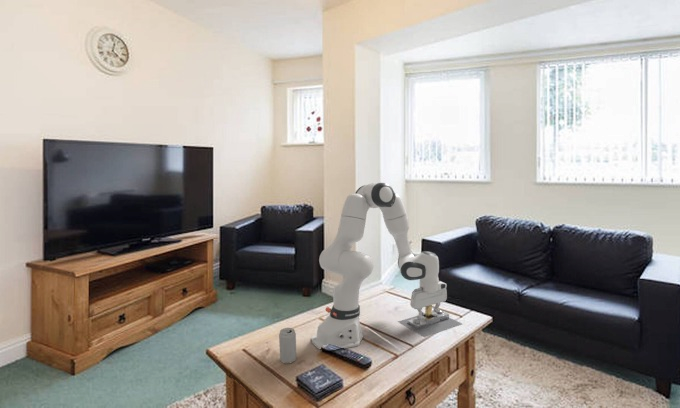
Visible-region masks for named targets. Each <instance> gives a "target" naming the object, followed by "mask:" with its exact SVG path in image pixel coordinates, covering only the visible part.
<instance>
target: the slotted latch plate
mask: <svg viewBox="0 0 680 408" xmlns="http://www.w3.org/2000/svg"><path fill="white" fill-rule="evenodd" d="M423 313H424V314H423V315H424V316H419V314H417V315H416V316H417V318H414V319H411V320H408V323H409V324H410V325H412V326H414V327H416V328H417V329H418V328H421V327H424V326H428V325H431V324H434V323H437V322H440V321H443V320H446V319H449V318H450V313H448V312H446V311H444V310H442V309H439V308H438V312H434V311H433V310H432V318H429V319H428V318H426V317H425V312H423Z"/></svg>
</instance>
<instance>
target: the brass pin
mask: <svg viewBox="0 0 680 408" xmlns="http://www.w3.org/2000/svg"><path fill="white" fill-rule="evenodd" d="M424 308H425V309H424V310H425V312H424V313H425V317H426V318H428V319H429V318H432V311H433V310H432V309H433V305H430V306H427V307H424Z"/></svg>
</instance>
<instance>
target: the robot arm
mask: <svg viewBox="0 0 680 408" xmlns="http://www.w3.org/2000/svg"><path fill="white" fill-rule="evenodd" d="M370 208H372V209H376V208H378V209H380V211H381V213H382V214H381V215H382V217H383V221H384V223H385V226H386V229H387V231H388V233H389V234H390V235H391V236H392V237H393V239H394V242H395V245H396V248H397V251H398V259H397V267H398V268H399V270H400V274H401V276H402V277H403V278H404V279H405V280H407V281H417V280H419V286H418V288H415V289H413V290H412V292H411V297H410V302H409V303H410V307H411V308H412V309H414V310H417V312H418V315H419V316H424V315H423V314H424V313H425V312H423V311H422V310H423V308H425V307H427V306H430V305H432V306H434V307H432V309H433V310H432V311H434V312H438V309H439V308H440V306H441V303H444V302H446V300H447V299H448V292H447V291H448V290H447V286H448V285H447V283H445V282H443V281H441V280H439V279H440V278H439V273H440V261H439V257H438V255H437V254H436V253H435V252H432V251H427V250H425V251H421V252H420V253H419V254H417V255H415V254H414V253H413V251H412V249H411V245H410V241H409V238H408V237H409V236H408V232H409V229H410V221H409V215H408V212H407V209H406V206H405V204H404V201H403V199H402V198H401V195H400V194H398V193H397V192H396V193H395V191H394V190H393V188H392V186H391V185H389V184H388V183H386V182H377V183H368V184H364V185H362V186H360V187H359V188H358V189H357V190H356V191H355V193H351V194H348V195H347V196H346V198H345V200H344V204H343V207H342V210H341V213H340V214H341V215H340V219H339V225H338V229H337V233H336V235H335V238H334V239H333V240H332V242H331V243H330V245H328V246H327V247H326V248H325V249H323V250H322V251H321V253H320V255H319V259H318V261H319V266H320V268H321V269H322V270H324V271H327V272H328V273H330V274H331V273H332V274H335V275H340V276H342V281H341V282H339V283H337V284H336V285H335V286H334V288H333V292H332V294H333V295H332V297H333V298H332V300H333V301H332V303H333V305H332V307H331V308H330V307H329V306H327V307H325V309H324V310H325V312H327V313H329V315H328V316H327V317H326V318H325V319H324V320H322V322H321V323H319V325H318V326H317V329H316V334H314V335H312V336H311V342H312V344H313V345H314V346H315V347H316V348H317V349H319V350H320V349H321V347H322V346H323V345H327V344H333V345H337V346H340V347H345V348H344V349H347V348H348V349H350V348H354V347H359V346H360V344H361V341H362V340H363V338H364V336H363V332H362V329H361V322H360V316H361V308H360V304H359V302H360V301H359V300H360V299H359V297H360V288H361V285H362V284H363V282H364V281H365V280H366V279H367V278H369V277H370V276H371V274H372V272H373V271H374V262H373V258H372V257H371V256H370V255H368V254H366V253H363V252H362V251H355V250H351V249H352V247H353V246H354V244H356V243H357V242H360V241H361V240H362V239H363V238H364V232H365V228H366V221H367V214H368V211H369V209H370Z"/></svg>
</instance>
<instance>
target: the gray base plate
mask: <svg viewBox="0 0 680 408" xmlns="http://www.w3.org/2000/svg"><path fill="white" fill-rule="evenodd" d="M414 318H417V315H415V316H413V317H409V318H405V319H402V320H399V321H397V322H398V323H399V324H401V325H402V326H404V327H406V328H408V329H410V330H411V331H413V332H415V333H417V334H418V335H420V336H422V337H424V338H427V337H428V336H432V335H436V334H438V333H441V332H443V331H448V330H450V329H452V328H456V327H458V326H461V325H463V323H462V322H460V321H457V320H455V319H453V318H451V317H449V319H446V320H443V321H440V322H437V323H434V324H431V325H428V326H424V327H421V328H418V329H417V328H416V327H414V326H412V325H410V324H409V323H408V320H411V319H414Z"/></svg>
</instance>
